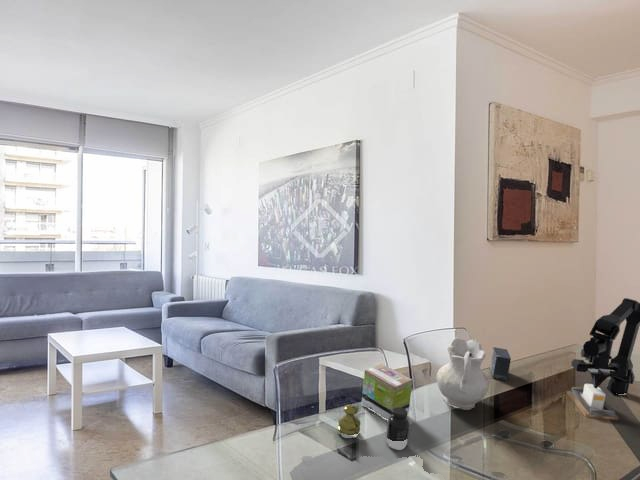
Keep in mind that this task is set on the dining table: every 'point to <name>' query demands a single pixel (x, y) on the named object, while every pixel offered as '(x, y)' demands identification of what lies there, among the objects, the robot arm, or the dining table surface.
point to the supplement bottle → (398, 425)
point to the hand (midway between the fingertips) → (595, 387)
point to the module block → (593, 396)
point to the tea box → (386, 390)
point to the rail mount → (587, 410)
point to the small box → (500, 363)
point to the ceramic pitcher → (463, 374)
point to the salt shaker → (349, 421)
